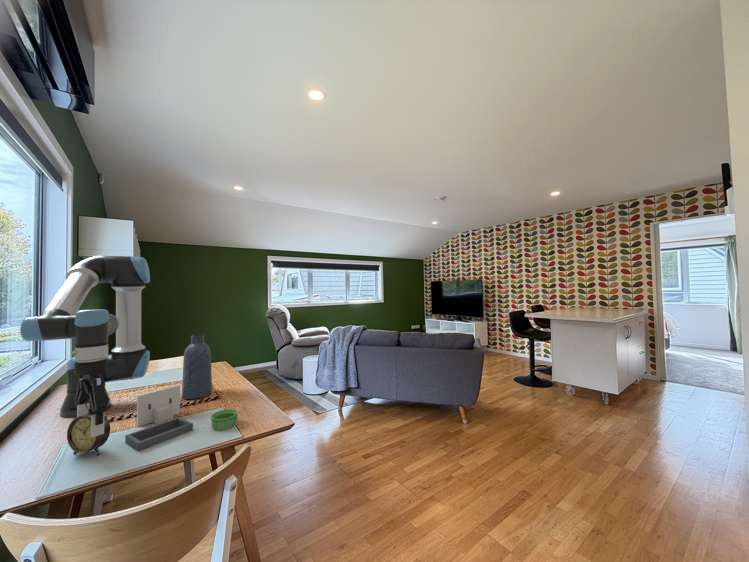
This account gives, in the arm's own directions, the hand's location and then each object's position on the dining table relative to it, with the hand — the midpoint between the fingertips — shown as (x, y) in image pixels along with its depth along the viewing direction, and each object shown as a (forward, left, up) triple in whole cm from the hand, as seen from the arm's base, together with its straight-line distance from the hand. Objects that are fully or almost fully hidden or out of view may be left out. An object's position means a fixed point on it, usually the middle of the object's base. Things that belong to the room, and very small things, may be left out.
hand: (90, 429), depth 91 cm
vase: (-23, +43, -7) cm, 50 cm away
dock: (+7, +16, -7) cm, 19 cm away
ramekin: (+18, +32, -7) cm, 37 cm away
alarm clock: (0, 0, -7) cm, 7 cm away
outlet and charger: (-4, +22, -7) cm, 24 cm away
